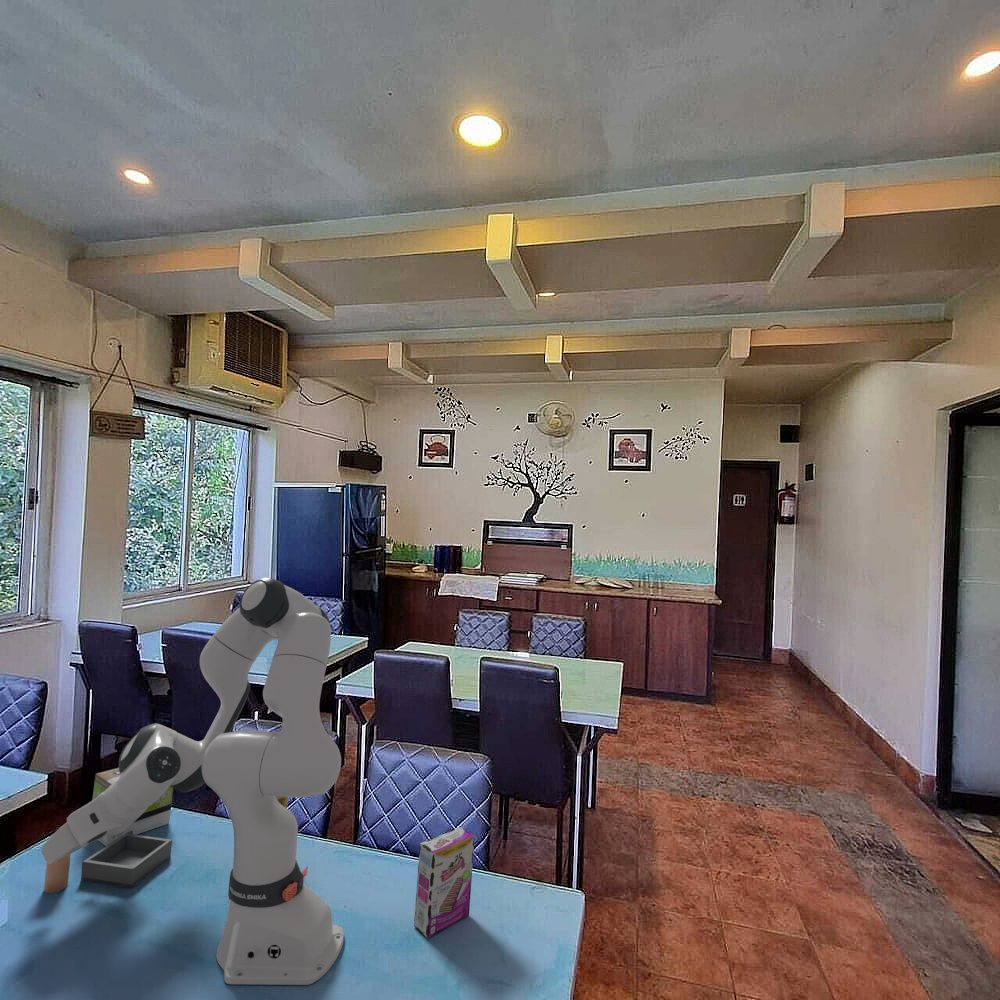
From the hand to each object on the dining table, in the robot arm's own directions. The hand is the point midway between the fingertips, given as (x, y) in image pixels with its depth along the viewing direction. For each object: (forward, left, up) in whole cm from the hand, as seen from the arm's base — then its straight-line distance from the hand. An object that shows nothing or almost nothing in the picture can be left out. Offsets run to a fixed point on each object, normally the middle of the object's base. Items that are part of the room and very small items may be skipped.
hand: (78, 846), depth 121 cm
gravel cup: (+4, 0, -9) cm, 10 cm away
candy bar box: (-78, -7, -9) cm, 79 cm away
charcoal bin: (-5, -9, -9) cm, 13 cm away
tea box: (+7, -24, -9) cm, 26 cm away
